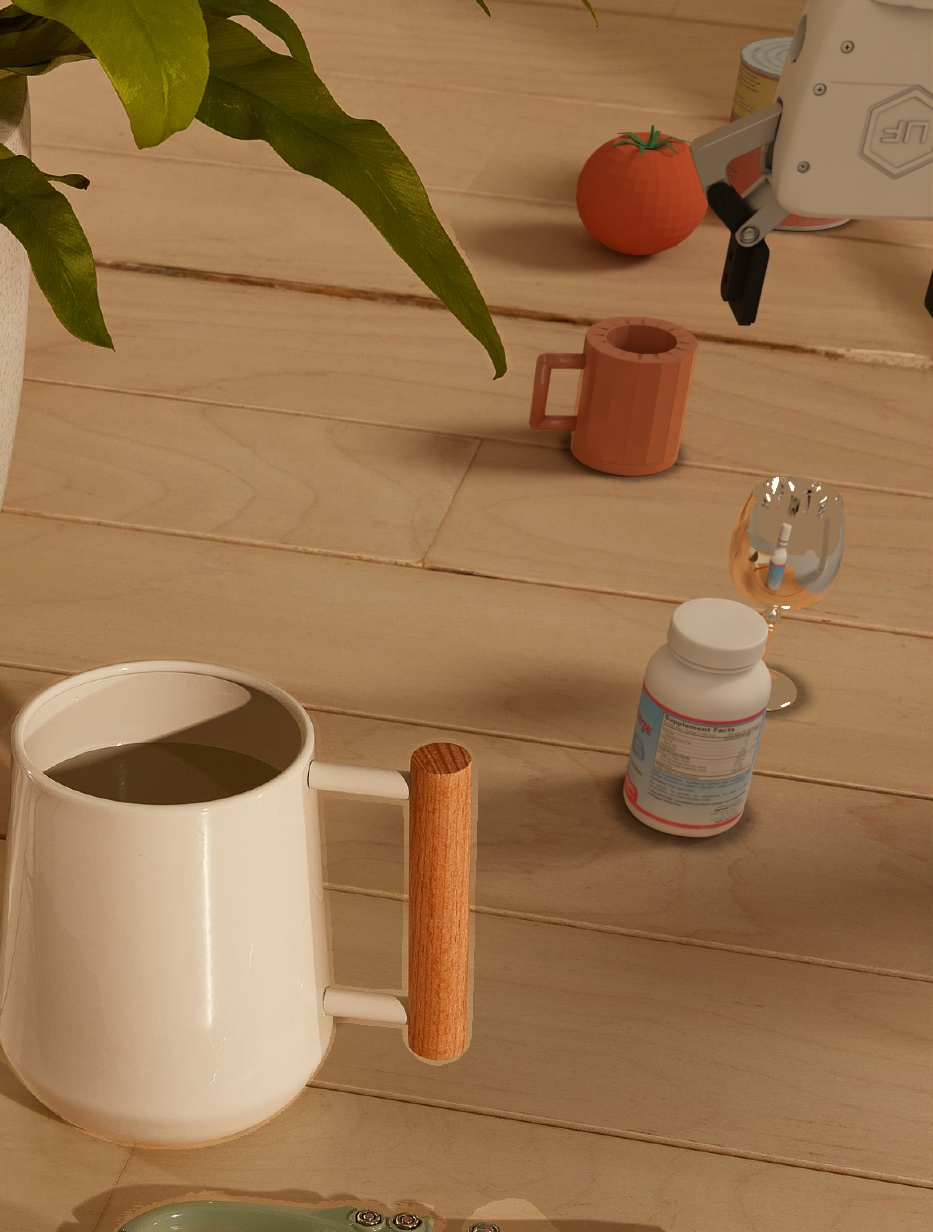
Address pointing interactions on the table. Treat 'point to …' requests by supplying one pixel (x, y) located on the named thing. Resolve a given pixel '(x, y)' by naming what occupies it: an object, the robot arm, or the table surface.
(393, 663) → the table surface
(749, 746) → the pill bottle
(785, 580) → the wineglass
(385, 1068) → the table surface
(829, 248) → the table surface
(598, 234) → the tomato
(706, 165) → the robot arm
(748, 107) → the canned food
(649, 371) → the mug
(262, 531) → the table surface
